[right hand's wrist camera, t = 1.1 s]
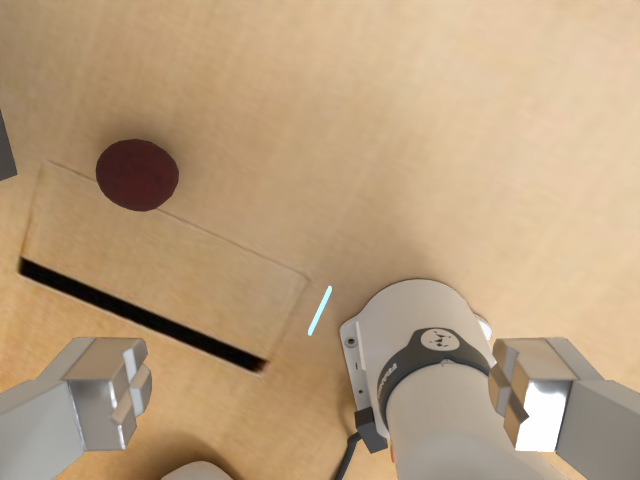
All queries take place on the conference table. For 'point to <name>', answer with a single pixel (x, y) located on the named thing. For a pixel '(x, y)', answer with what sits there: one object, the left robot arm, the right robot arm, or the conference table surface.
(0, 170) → the bar
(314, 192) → the conference table surface
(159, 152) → the dark red ball
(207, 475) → the white grey rounded device
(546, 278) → the conference table surface
